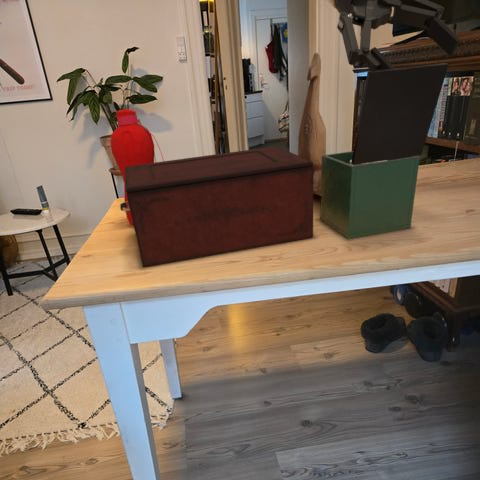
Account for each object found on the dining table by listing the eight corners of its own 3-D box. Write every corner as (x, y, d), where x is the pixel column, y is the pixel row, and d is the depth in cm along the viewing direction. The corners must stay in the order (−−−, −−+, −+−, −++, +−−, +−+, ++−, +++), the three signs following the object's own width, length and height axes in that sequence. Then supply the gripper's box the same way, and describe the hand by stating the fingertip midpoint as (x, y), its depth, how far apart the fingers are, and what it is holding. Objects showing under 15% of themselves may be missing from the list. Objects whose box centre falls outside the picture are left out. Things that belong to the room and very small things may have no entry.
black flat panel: (367, 71, 63) (369, 72, 62) (446, 62, 65) (449, 64, 64) (351, 163, 73) (353, 165, 73) (419, 153, 76) (421, 155, 75)
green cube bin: (320, 219, 92) (321, 155, 85) (376, 210, 94) (381, 147, 87) (348, 239, 80) (351, 166, 73) (410, 227, 83) (420, 156, 75)
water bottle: (171, 224, 98) (150, 108, 85) (126, 228, 99) (98, 113, 86) (175, 212, 106) (157, 105, 93) (134, 216, 107) (109, 109, 94)
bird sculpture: (283, 201, 106) (278, 56, 90) (299, 190, 115) (297, 55, 98) (324, 204, 101) (327, 50, 85) (338, 191, 110) (343, 49, 93)
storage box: (285, 207, 102) (283, 142, 94) (323, 236, 83) (324, 158, 75) (129, 232, 96) (114, 165, 88) (131, 269, 77) (111, 188, 69)
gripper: (396, -13, 82) (468, 55, 76) (293, 35, 78) (361, 110, 72) (411, -57, 75) (491, 14, 69) (299, -7, 71) (374, 73, 65)
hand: (425, 63), depth 71 cm, fingers open, 13 cm apart
